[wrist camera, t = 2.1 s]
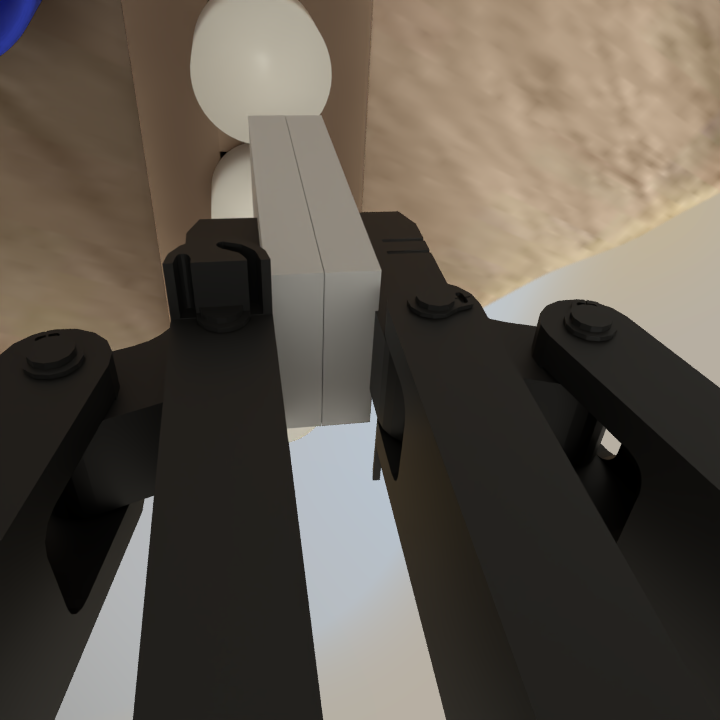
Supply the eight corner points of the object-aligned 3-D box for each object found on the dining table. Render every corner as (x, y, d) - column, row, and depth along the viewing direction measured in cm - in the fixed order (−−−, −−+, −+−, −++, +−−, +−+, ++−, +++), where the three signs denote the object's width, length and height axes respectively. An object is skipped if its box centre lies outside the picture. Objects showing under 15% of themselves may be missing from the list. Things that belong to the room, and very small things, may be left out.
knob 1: (215, 186, 36) (215, 262, 30) (208, 104, 34) (206, 167, 27) (295, 184, 37) (313, 258, 30) (294, 104, 34) (313, 165, 28)
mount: (184, 329, 42) (180, 388, 38) (119, -140, 28) (100, -137, 23) (338, 320, 44) (352, 376, 39) (353, -127, 29) (379, -122, 25)
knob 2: (202, 75, 28) (197, 146, 22) (191, -44, 26) (182, -5, 19) (304, 76, 29) (330, 144, 22) (303, -40, 26) (333, -2, 20)
